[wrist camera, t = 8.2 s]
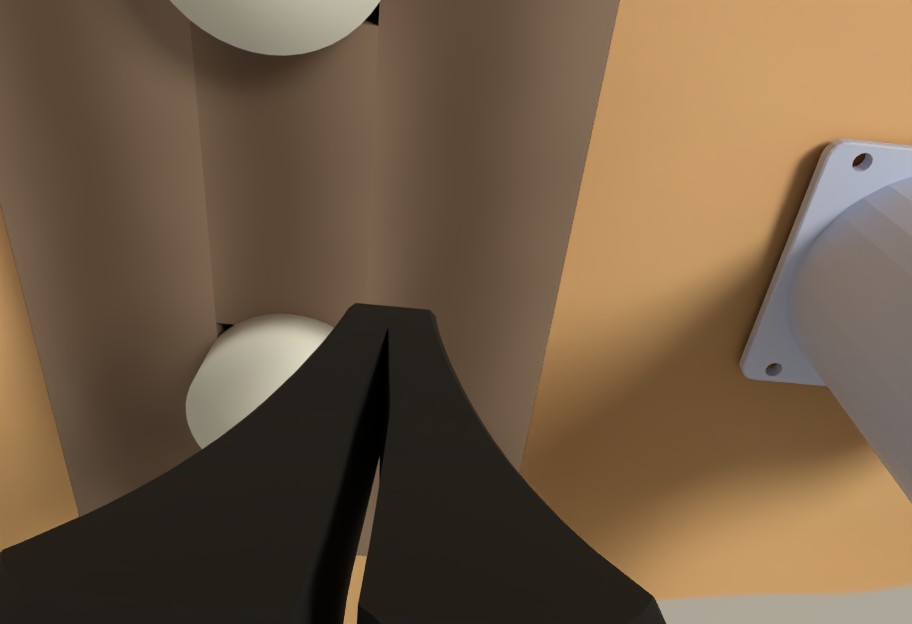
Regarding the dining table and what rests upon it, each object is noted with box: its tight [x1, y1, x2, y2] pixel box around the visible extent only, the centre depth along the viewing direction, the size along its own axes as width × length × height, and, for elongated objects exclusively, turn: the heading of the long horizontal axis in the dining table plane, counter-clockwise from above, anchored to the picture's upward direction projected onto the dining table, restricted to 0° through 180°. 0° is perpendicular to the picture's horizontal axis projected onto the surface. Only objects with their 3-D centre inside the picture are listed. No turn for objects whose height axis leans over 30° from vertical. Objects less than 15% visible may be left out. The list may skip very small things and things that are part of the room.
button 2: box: [186, 314, 334, 449], centre depth 21 cm, size 5×5×4 cm
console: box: [0, 0, 620, 556], centre depth 18 cm, size 14×26×3 cm, turn 174°
